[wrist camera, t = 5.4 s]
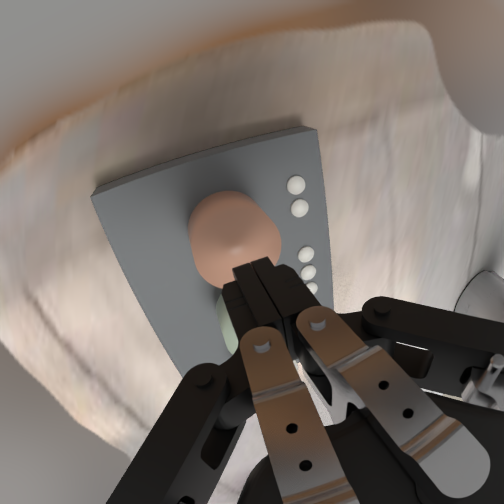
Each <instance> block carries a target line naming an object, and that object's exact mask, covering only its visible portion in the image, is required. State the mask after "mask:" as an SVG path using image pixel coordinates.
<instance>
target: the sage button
mask: <svg viewBox="0 0 504 504" xmlns="http://www.w3.org/2000/svg"><path fill="white" fill-rule="evenodd" d="M216 314H217V317H218V321H219V324H220V327H221V330H222V334H223V337H224V340H225V343H226V346H227V348H228V350H229V351H230V353H231V354H234V353H235V351H236V349H237V347H238V339H237V337H236V334H235V331H234V329H233V326H232V323H231V321H230V318H229V315H228V312H227V309H226V306H225V303H224V300H223V297H222V294H221V295H220V297H219V299H218V301H217V304H216Z"/></svg>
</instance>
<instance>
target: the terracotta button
mask: <svg viewBox="0 0 504 504" xmlns="http://www.w3.org/2000/svg"><path fill="white" fill-rule="evenodd" d="M188 236H189V241H190V245H191V249H192V254H193V258H194V262H195V265H196V268H197V270H198V272H199V273H200V275H201V276H202V277H203V278H204V279H205V280H206V281H207V282H208V283H210V284H211V285H213V286H216V287H218V288H222V289H223V285H224V284H226V283H229V282H232V281H235V279H234V275H233V272H232V268H234V267H237V266H240V265H243V264H246V263H250V262H251V261H254V260H257V259H260V258H263V257H266V256H268V257H269V259H270V260H271V262H272V263H273V265H274V266H275V265H276V263H277V261H278V259H279V256H280V253H281V237H280V233H279V231H278V228H277V227H276V225H275V224H274V223H273V221H272V220H271V219H270V218H269V217H268V216H267V215H266V213H265V212H264V211H263V210H262V209H261V208H260V207H259V206H258V205H257V203H256V202H255V201H254V200H253V199H252V198H250V197H249V196H247V195H245V194H243V193H241V192H237V191H221V192H216V193H214V194H211V195H209V196H208V197H206V198H205V199H203V200H202V201H201V202H200V203H199V204H198V205H197V206H196V207H195V209H194V210H193V212H192V214H191V216H190V219H189V222H188Z"/></svg>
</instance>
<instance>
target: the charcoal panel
mask: <svg viewBox="0 0 504 504" xmlns="http://www.w3.org/2000/svg"><path fill="white" fill-rule="evenodd" d="M221 191H237V192H241V193H243V194H245V195H247V196H249V197H250V198H252V199H253V200H254V201H255V202H256V203H257V205H258V206H259V207H260V208H261V209H262V210H263V211H264V212H265V213H266V215H267V216H268V217H269V218H270V219H271V220H272V221H273V223H274V224H275V225H276V227H277V228H278V231H279V233H280V237H281V253H280V256H279V259H278V261H277V263H276V265H275V266H278V265H281V264H285V265H287V266H289V267H291V268H293V269H294V270H295V271H296V273H297V274H298V275H299V277H300V278H301V279H302V280H303V282H304V284H306V286H307V287H308V288H309V289H310V291H311V292H312V293H313V295H314V296H315V297H316V299H317V300H318V301H319V303H320V304H321V305H322V306H325V307H328V308H331V309H332V310H334V302H333V282H332V266H331V252H330V239H329V228H328V217H327V207H326V197H325V188H324V180H323V172H322V164H321V156H320V149H319V142H318V135H317V129H313V128H309V127H305V126H301V127H296V128H291V129H286V130H282V131H277V132H273V133H269V134H264V135H260V136H256V137H252V138H248V139H244V140H240V141H236V142H233V143H229V144H225V145H221V146H218V147H214V148H211V149H207V150H204V151H200V152H197V153H194V154H191V155H187V156H184V157H181V158H178V159H175V160H171V161H168V162H165V163H162V164H159V165H156V166H153V167H151V168H148V169H145V170H142V171H139V172H136V173H134V174H131V175H128V176H125V177H123V178H120V179H117V180H115V181H112V182H110V183H107V184H105V185H102V186H100V187H97V188H96V189H95V191H94V192H93V194H92V195H91V197H90V198H91V200H92V203H93V205H94V208H95V210H96V213H97V215H98V218H99V220H100V222H101V225H102V227H103V229H104V232H105V234H106V236H107V238H108V241H109V243H110V245H111V247H112V249H113V252H114V254H115V256H116V258H117V260H118V262H119V264H120V266H121V268H122V271H123V273H124V275H125V277H126V279H127V281H128V283H129V285H130V287H131V289H132V291H133V292H134V294H135V296H136V298H137V300H138V302H139V304H140V306H141V308H142V310H143V311H144V313H145V315H146V317H147V319H148V321H149V322H150V324H151V326H152V328H153V329H154V331H155V333H156V335H157V336H158V338H159V340H160V342H161V343H162V345H163V347H164V348H165V350H166V352H167V353H168V355H169V357H170V358H171V360H172V362H173V363H174V365H175V367H176V368H177V370H178V371H179V373H180V374H181V376H182V378H183V377H184V376H185V374H186V373H187V372H188V371H189V370H190V369H191V368H192V367H194V366H196V365H198V364H202V363H214V364H217V365H221V364H222V363H224V362H225V361H227V360H228V359H229V358H230V357H231V356H232V355H233V354H231V353H230V351H229V350H228V348H227V346H226V343H225V340H224V337H223V334H222V330H221V327H220V324H219V321H218V317H217V314H216V304H217V301H218V299H219V297H220V295H221V293H222V288H218V287H216V286H213V285H211V284H210V283H208V282H207V281H206V280H205V279H204V278H203V277H202V276H201V275H200V273H199V272H198V270H197V268H196V265H195V262H194V258H193V254H192V249H191V245H190V241H189V236H188V222H189V219H190V216H191V214H192V212H193V210H194V209H195V207H196V206H197V205H198V204H199V203H200V202H201V201H202V200H203V199H205V198H206V197H208V196H209V195H211V194H214V193H216V192H221ZM295 361H296V363H299V362H300V361H299V359H296V360H295Z"/></svg>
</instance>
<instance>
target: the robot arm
mask: <svg viewBox="0 0 504 504" xmlns="http://www.w3.org/2000/svg"><path fill="white" fill-rule="evenodd" d="M232 272H233V275H234V279H235V281H232V282H229V283H226V284H224V285H223V289H222V293H221V294H222V297H223V300H224V303H225V306H226V309H227V312H228V315H229V318H230V321H231V323H232V326H233V329H234V331H235V334H236V337H237V339H238V347H237V349H236V351H235V353H234V354H233V355H232V356H231V357H230V358H229V359H228V360H227V361H225V362H224V363H222V364H221V365H217V364H214V363H202V364H198V365H196V366H194V367H192V368H191V369H190V370H189V371H188V372H187V373H186V374H185V376H184V377H183V379H182V381H181V382H180V384H179V386H178V387H177V389H176V390H175V392H174V394H173V395H172V397H171V399H170V400H169V402H168V404H167V405H166V407H165V408H164V410H163V412H162V413H161V415H160V417H159V418H158V420H157V422H156V423H155V425H154V426H153V428H152V430H151V431H150V433H149V435H148V436H147V438H146V439H145V441H144V443H143V444H142V446H141V448H140V449H139V451H138V452H137V454H136V456H135V457H134V459H133V461H132V462H131V464H130V466H129V467H128V469H127V471H126V472H125V474H124V475H123V477H122V478H121V480H120V482H119V483H118V485H117V486H116V488H115V490H114V491H113V493H112V494H111V496H110V498H109V499H108V501H107V502H106V504H207V503H208V501H209V499H210V497H211V495H212V493H213V491H214V489H215V487H216V485H217V483H218V481H219V479H220V477H221V475H222V473H223V471H224V469H225V467H226V465H227V463H228V460H229V458H230V456H231V454H232V452H233V450H234V448H235V446H236V443H237V441H238V439H239V437H240V435H241V433H242V430H243V428H244V426H245V423H246V419H248V418H249V417H251V416H252V415H253V414H255V413H256V414H257V418H258V421H259V425H260V428H261V431H262V435H263V438H264V442H265V445H266V448H267V452H268V455H267V456H266V457H264V458H263V459H262V460H261V461H260V462H259V463H258V464H257V465H256V466H255V468H254V469H253V470H252V471H251V473H250V475H249V477H248V478H247V481H246V483H245V485H244V488H243V490H242V493H241V495H240V497H239V500H238V502H237V504H504V279H503V278H502V277H501V276H499V275H498V274H497V273H495V272H494V271H492V272H488V271H483V272H481V273H480V274H478V275H477V276H476V277H475V278H474V279H473V280H472V281H471V282H470V284H469V285H468V286H467V287H466V289H465V290H464V292H463V293H462V295H461V297H460V299H459V301H458V303H457V305H456V308H455V312H452V311H447V310H443V309H438V308H434V307H429V306H425V305H420V304H416V303H412V302H407V301H403V300H398V299H394V298H390V297H384V296H380V297H374V298H371V299H369V300H368V301H366V302H365V303H364V305H363V307H362V311H359V312H353V313H346V314H338V313H336V312H335V311H334V310H332V309H331V308H328V307H325V306H322V305H321V304H320V303H319V301H318V300H317V299H316V297H315V296H314V295H313V293H312V292H311V291H310V289H309V288H308V287H307V286H306V284H304V282H303V280H302V279H301V278H300V277H299V275H298V274H297V273H296V271H295V270H294V269H293V268H291V267H289V266H287V265H285V264H281V265H278V266H274V265H273V263H272V262H271V260H270V259H269V257H268V256H266V257H263V258H260V259H257V260H254V261H251V262H250V263H246V264H243V265H240V266H237V267H234V268H232ZM396 341H397V342H400V343H404V344H408V345H412V346H416V347H420V348H424V349H428V350H423V349H419V348H415V347H411V346H407V345H403V344H399V343H396ZM296 359H299V361H300V363H301V364H302V368H303V374H304V376H305V378H306V379H307V381H308V382H309V383H310V385H311V386H312V388H313V389H314V391H315V392H316V394H317V395H318V397H319V398H320V400H321V401H322V403H323V404H324V406H325V407H326V408H327V410H328V412H329V414H330V416H331V419H332V421H333V424H334V425H329V426H324V425H323V423H322V421H321V418H320V416H319V414H318V411H317V409H316V407H315V405H314V402H313V400H312V398H311V395H310V393H309V391H308V388H307V386H306V384H305V383H304V382H302V381H301V379H300V377H299V375H298V372H297V370H296V368H295V365H294V363H293V361H294V360H296ZM421 388H423V389H427V390H431V391H435V392H439V393H443V394H448V395H452V396H457V397H461V398H462V399H463V401H464V402H463V401H459V400H455V399H451V398H448V397H444V396H441V395H437V394H434V393H430V392H424V391H423V390H422V389H421Z"/></svg>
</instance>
